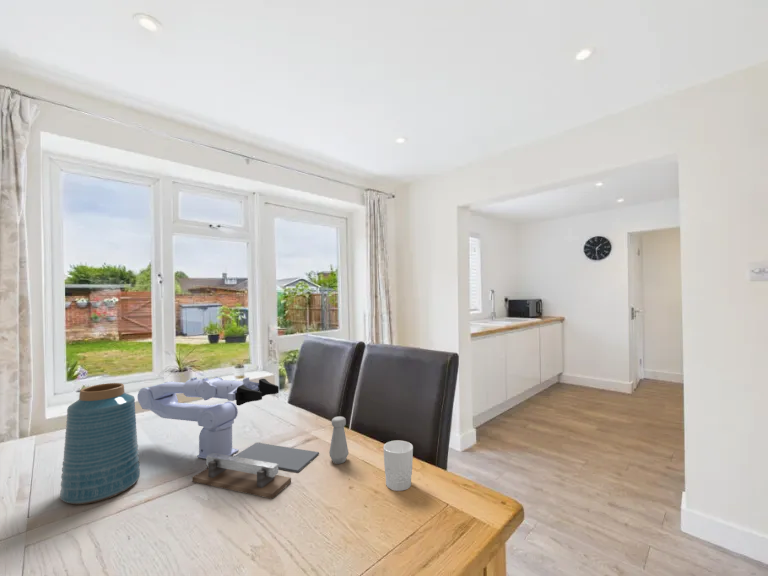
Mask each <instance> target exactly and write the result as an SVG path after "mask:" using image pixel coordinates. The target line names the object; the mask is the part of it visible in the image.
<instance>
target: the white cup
mask: <svg viewBox="0 0 768 576" xmlns="http://www.w3.org/2000/svg"><path fill="white" fill-rule="evenodd" d="M413 454H414V445H413V444H412V443H410V442H409V441H406V440H402V439H401V440H398V439H397V440H391V441H390V440H389V441H387V442H386V443H384V444H383V463H384V464H383V465H384V474H385V485H386V487H387V488H388V489H390V490H391V491H395V492H396V491H397V492H400V491H401V492H402V491H405V490H408V489H409V488H410V487H412V475H413V457H414V456H413Z"/></svg>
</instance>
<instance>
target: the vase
mask: <svg viewBox="0 0 768 576" xmlns="http://www.w3.org/2000/svg"><path fill="white" fill-rule="evenodd" d="M135 403H136V402H135V396H134V395H132V394H129V393H126V392H125V384H124V383H122V382H109V383H102V384H101V383H100V384H94V385H89V386H87V387H86V386H85V387H84V388H81V389H80V390H79V396H78V400H76V401H74V402H73V403H71V404H70V405H69V406H68V407H67V410H66V413H67V414H66V423H65V424H66V425H65V438H64V447H63V459H62V467H61V472H62V473H61V477H60V478H61V482H60V490H59V491H60V492H59V494H60V495H59V497H60V500H61V501H62V502H64V503H67V504H72V505H87V504H92V503H98V502H101V501H105V500H107V499H110V498H113V497H115V496H117V495H119V494H122V493H123V492H125V491H126V490H128V489H129V488H131V487H132V486H133V485H134V484H135V483H136V482H137V481H138V480H139V478H140V476H141V475H140V474H141V472H140V471H141V470H140V461H139V460H140V456H139V455H140V454H139V453H140V451H139V444H138V433H137V431H138V429H137V416H136V404H135Z"/></svg>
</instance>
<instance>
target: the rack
mask: <svg viewBox="0 0 768 576" xmlns="http://www.w3.org/2000/svg"><path fill="white" fill-rule="evenodd" d="M207 466H208V467H207V468H205V469H203V470H202V471H200V472H198V473H197V474H196V475H193V476H192V477H191V481H192V482H193V483H197V484H202V485H207V486H212V487H216V488H222V489H226V490H229V491H235V492H239V493H243V492H244V494H249V495H254V496H257V495H258V497H262V496H263V497H262V498H266V499H274V498H275V497H277V495H279V493H281V492H282V491H283V490H284V489H285V488H286V487H288V485H289V484H290V483H292V477H291V476H290V477H288V476H284V475H278V474H277V475H275V476H274V477H273V478H272V477H267V476H265V471H263V470H259V471H257V475H256V474H251V473H246V472H241V471H236V470H230V469H225V468H220V467H216V462H214V461H210V462H209V463H208V465H207Z"/></svg>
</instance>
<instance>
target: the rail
mask: <svg viewBox="0 0 768 576" xmlns="http://www.w3.org/2000/svg"><path fill="white" fill-rule="evenodd" d="M210 461H214V462H216V467H220V468H225V469H230V470H236V471H241V472H246V473H251V474H256V475H257V471H259V470H263V471H265V476H267V477H272V478H273V477H274V476H275V475H278V474H279V469H278V464H276V463H270V462H264V461H259V460H253V459H247V458H242V457H236V456H235V455H231V456H230V455H224V454H219V453H211V454H209V455H208V456H206V459H205V465H206V466H208V463H209V462H210Z"/></svg>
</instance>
